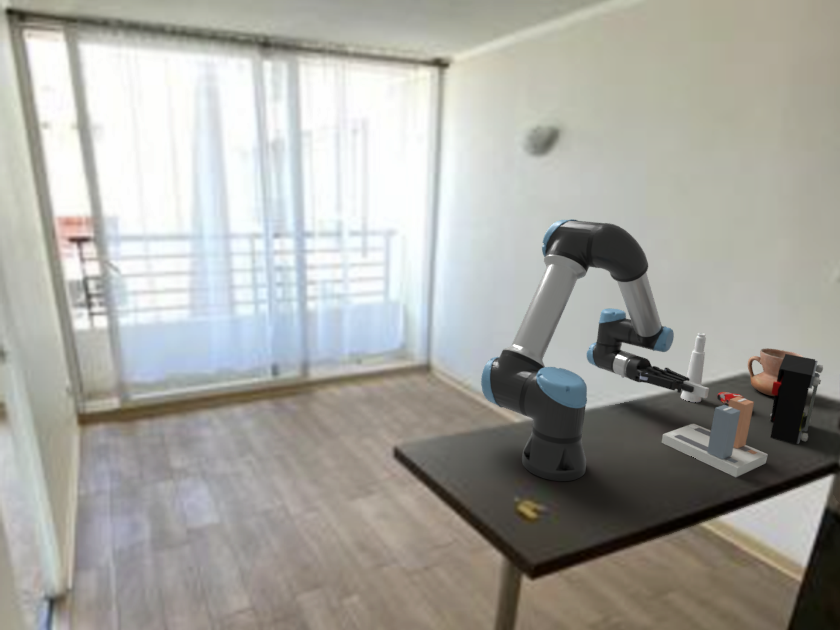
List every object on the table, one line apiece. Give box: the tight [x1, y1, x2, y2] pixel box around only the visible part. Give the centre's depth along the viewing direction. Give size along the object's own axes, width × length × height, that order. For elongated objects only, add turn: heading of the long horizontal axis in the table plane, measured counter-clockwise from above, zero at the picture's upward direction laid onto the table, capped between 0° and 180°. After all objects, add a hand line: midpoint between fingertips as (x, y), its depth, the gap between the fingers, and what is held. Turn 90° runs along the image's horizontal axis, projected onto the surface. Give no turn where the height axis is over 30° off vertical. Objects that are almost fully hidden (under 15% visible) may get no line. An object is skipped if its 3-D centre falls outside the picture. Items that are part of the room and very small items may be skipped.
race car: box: [716, 391, 745, 406], centre depth 177 cm, size 13×5×4 cm, turn 0°
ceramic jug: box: [747, 347, 804, 397], centre depth 188 cm, size 18×14×14 cm
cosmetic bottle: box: [680, 332, 707, 403], centre depth 178 cm, size 6×6×22 cm
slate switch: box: [707, 404, 740, 459], centre depth 138 cm, size 4×4×12 cm
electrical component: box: [769, 354, 824, 445], centre depth 158 cm, size 18×10×20 cm, turn 143°
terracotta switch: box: [729, 397, 755, 448], centre depth 143 cm, size 4×4×12 cm
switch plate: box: [661, 422, 768, 478], centre depth 145 cm, size 20×14×3 cm
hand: (706, 393), depth 150 cm, fingers closed
